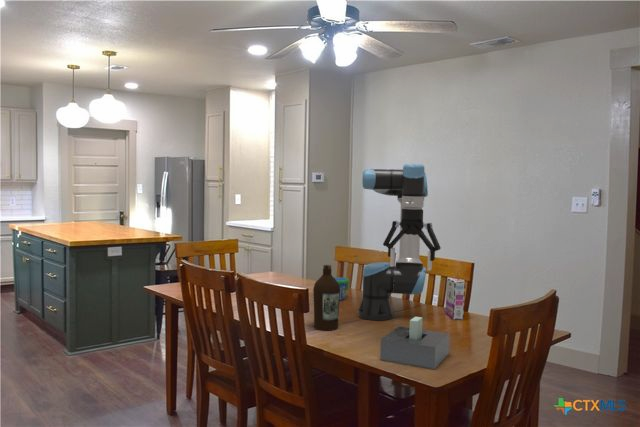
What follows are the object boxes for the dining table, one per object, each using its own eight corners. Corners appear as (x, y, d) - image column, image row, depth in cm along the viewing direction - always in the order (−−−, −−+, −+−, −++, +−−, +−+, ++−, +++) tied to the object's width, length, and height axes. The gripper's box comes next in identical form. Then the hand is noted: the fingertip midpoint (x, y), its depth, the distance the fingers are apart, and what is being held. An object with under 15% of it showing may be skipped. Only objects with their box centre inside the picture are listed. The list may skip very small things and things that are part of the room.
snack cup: (340, 295, 279) (341, 275, 278) (355, 298, 271) (356, 278, 271) (318, 299, 268) (319, 278, 267) (334, 303, 260) (334, 282, 260)
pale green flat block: (408, 356, 179) (409, 320, 178) (414, 351, 184) (415, 316, 183) (416, 357, 178) (417, 321, 177) (421, 352, 183) (422, 317, 182)
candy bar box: (464, 320, 232) (465, 282, 231) (453, 320, 232) (454, 282, 231) (455, 313, 243) (457, 277, 242) (444, 313, 243) (446, 277, 242)
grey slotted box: (380, 359, 177) (380, 338, 177) (398, 345, 193) (399, 326, 193) (434, 369, 169) (435, 347, 168) (448, 353, 185) (449, 333, 184)
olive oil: (308, 325, 218) (309, 263, 216) (332, 323, 222) (333, 262, 221) (319, 332, 208) (320, 267, 207) (344, 329, 213) (345, 266, 211)
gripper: (375, 207, 192) (373, 266, 194) (445, 210, 181) (442, 273, 183) (382, 205, 199) (381, 263, 201) (450, 209, 188) (448, 269, 190)
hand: (410, 268), depth 192 cm, fingers open, 13 cm apart
